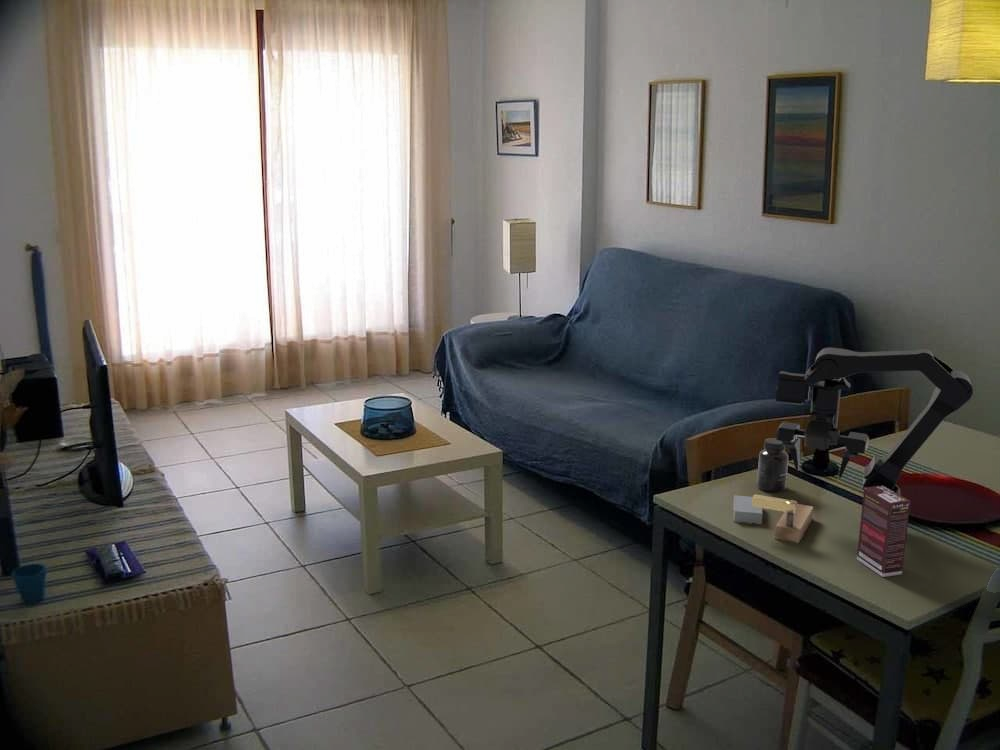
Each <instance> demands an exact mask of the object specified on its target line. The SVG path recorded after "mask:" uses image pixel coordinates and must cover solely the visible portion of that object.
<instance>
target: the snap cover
mask: <svg viewBox="0 0 1000 750" xmlns="http://www.w3.org/2000/svg"><path fill="white" fill-rule="evenodd" d="M752 497H753V496H747V495H745V496H744V495H736V494H734V495H733V505H732V508H733V509H732V510H734V512H733V522H734V521H739V522H738V523H740V522H747V523H746V524H752V523H756V524H755V525H762V524H763V508H760V507H754V506H752ZM757 523H758V524H757ZM759 523H761V524H759Z"/></svg>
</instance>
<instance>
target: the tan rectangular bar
mask: <svg viewBox="0 0 1000 750" xmlns="http://www.w3.org/2000/svg"><path fill="white" fill-rule="evenodd" d="M751 497H752V506H754V507H760V508H762V509H766V510H772V511H779V512H783V513H784V512H787V513H796V511H797V504H798V501H797V500H794V499H785V498H781V497H780V498H778V497H774V496H773V497H772V496H766V495H761V494H753V496H751Z"/></svg>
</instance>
